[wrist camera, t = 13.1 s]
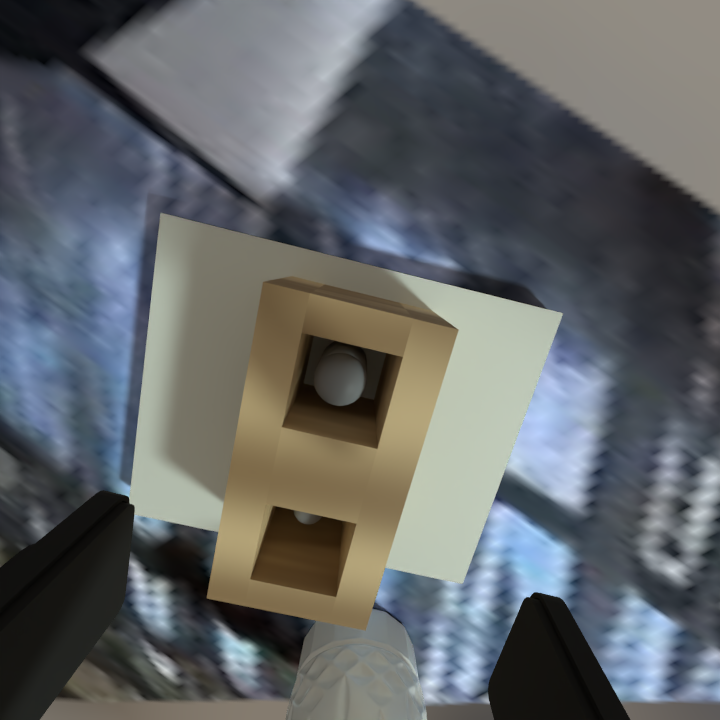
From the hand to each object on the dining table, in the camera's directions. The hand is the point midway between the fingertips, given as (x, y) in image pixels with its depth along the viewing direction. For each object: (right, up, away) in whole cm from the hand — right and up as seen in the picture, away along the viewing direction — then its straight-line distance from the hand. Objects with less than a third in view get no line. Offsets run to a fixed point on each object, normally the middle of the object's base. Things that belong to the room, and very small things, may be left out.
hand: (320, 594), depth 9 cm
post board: (-1, +3, +11) cm, 11 cm away
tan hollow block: (0, +2, +10) cm, 10 cm away
